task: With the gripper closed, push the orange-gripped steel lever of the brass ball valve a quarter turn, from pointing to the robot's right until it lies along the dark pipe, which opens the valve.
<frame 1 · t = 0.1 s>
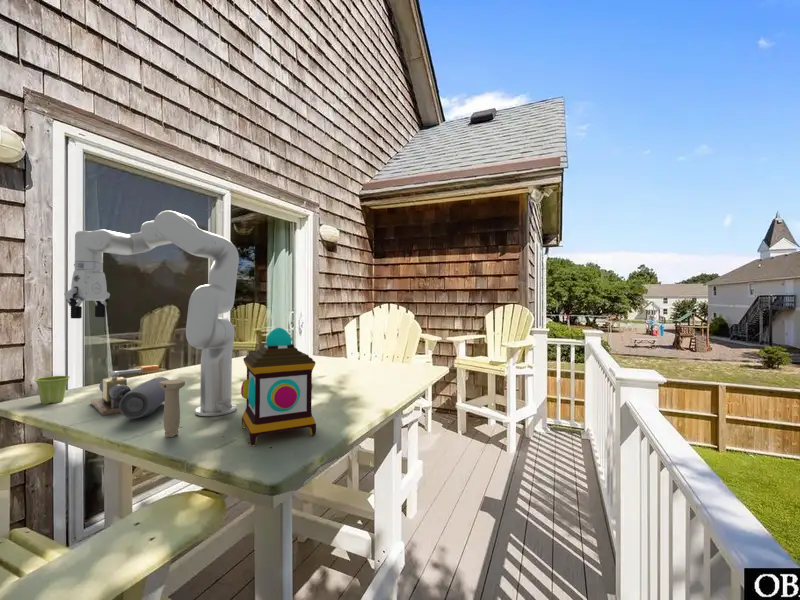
hand: (88, 317, 131), 31 cm above the table, tool pointing down, fingers open, 9 cm apart
decorative lantern: (277, 432, 110), on the table
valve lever: (134, 370, 139), point 12 cm above the table, hinge at -90.0°
plant pot: (52, 402, 139), on the table
handle: (171, 436, 106), on the table
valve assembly: (114, 406, 134), on the table
bluetooth speaker: (147, 412, 128), on the table, touching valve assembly
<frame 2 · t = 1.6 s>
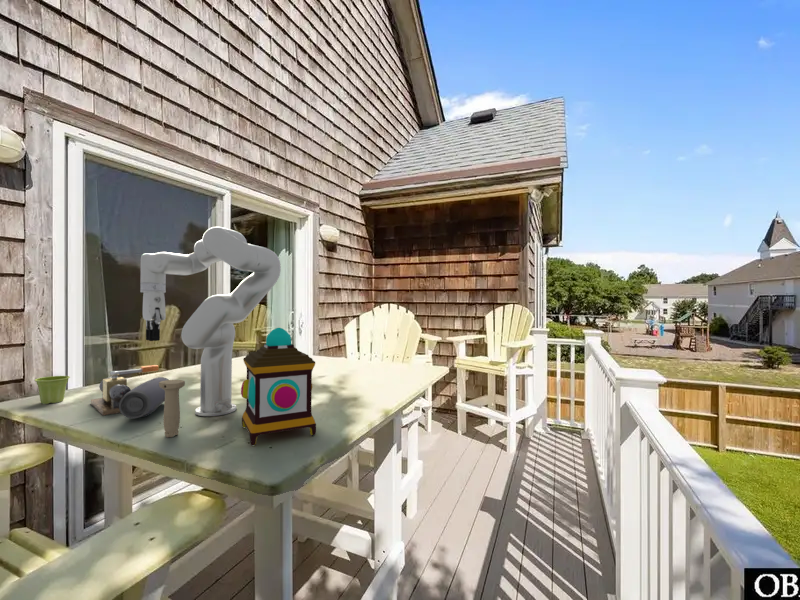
hand: (152, 339, 136), 23 cm above the table, tool pointing down, fingers closed
nothing on the table moved.
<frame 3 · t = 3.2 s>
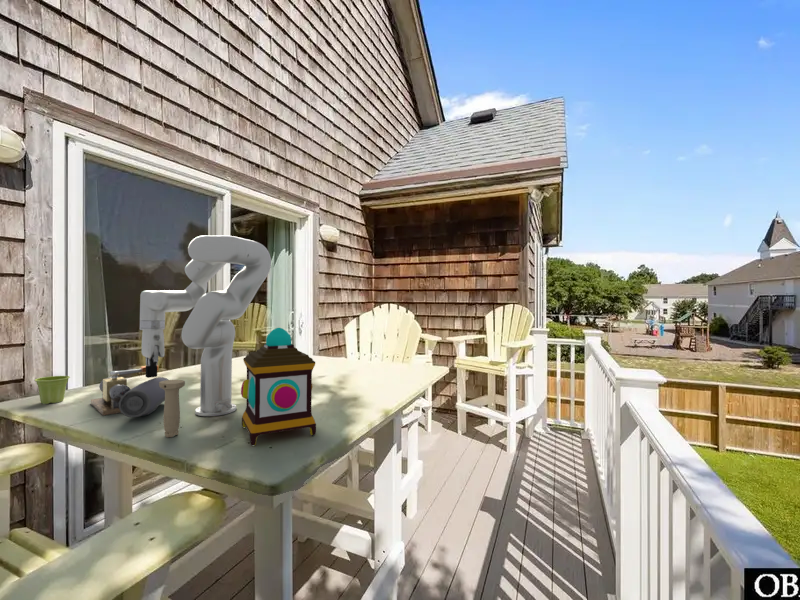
hand: (151, 376, 136), 10 cm above the table, tool pointing down, fingers closed
bluetooth speaker: (148, 412, 128), on the table, touching gripper, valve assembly
everything else where it was.
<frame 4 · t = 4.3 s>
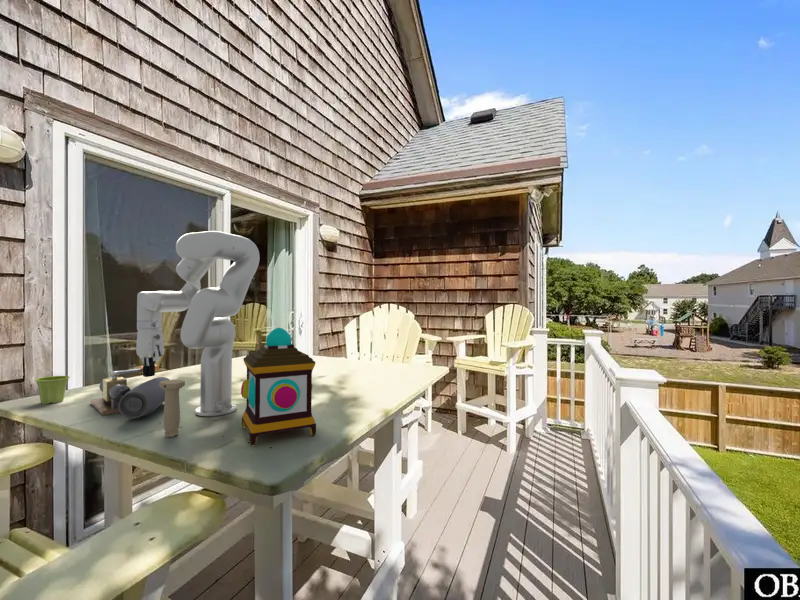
hand: (149, 376, 139), 10 cm above the table, tool pointing down, fingers closed
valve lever: (134, 370, 139), point 12 cm above the table, hinge at -87.1°, touching gripper
bluetooth speaker: (148, 412, 128), on the table, touching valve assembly
everything else where it was.
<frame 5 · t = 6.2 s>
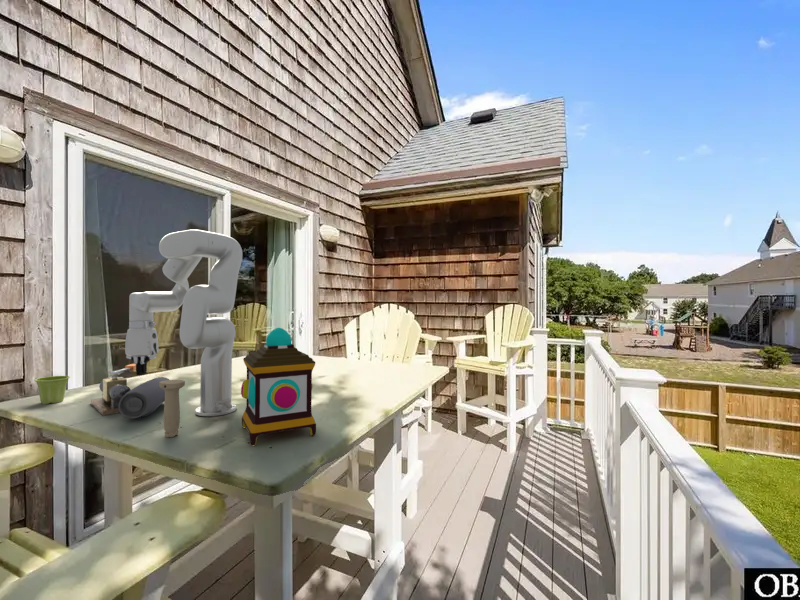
hand: (141, 374, 144), 9 cm above the table, tool pointing down, fingers closed
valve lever: (125, 369, 140), point 12 cm above the table, hinge at -42.8°, touching gripper
everything else where it was.
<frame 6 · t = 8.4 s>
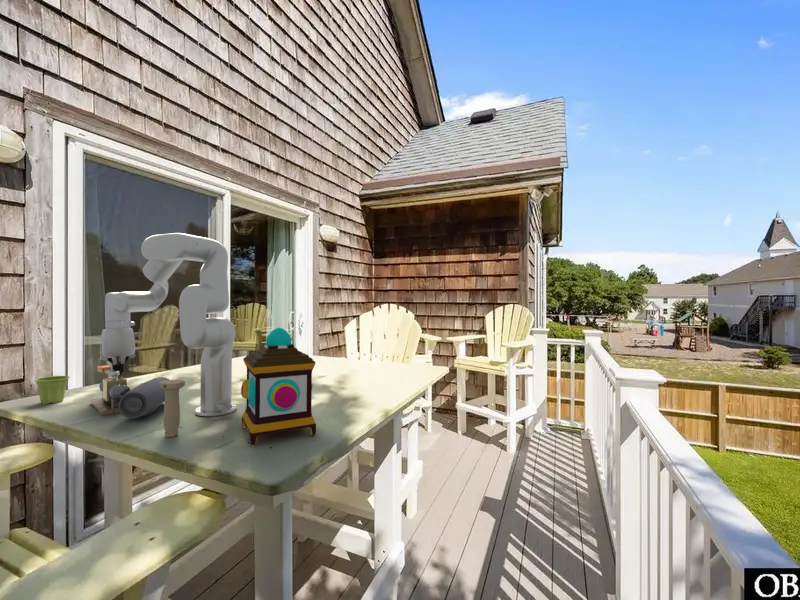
hand: (118, 374, 143), 9 cm above the table, tool pointing down, fingers closed
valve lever: (108, 370, 138), point 12 cm above the table, hinge at 6.3°, touching gripper
everything else where it was.
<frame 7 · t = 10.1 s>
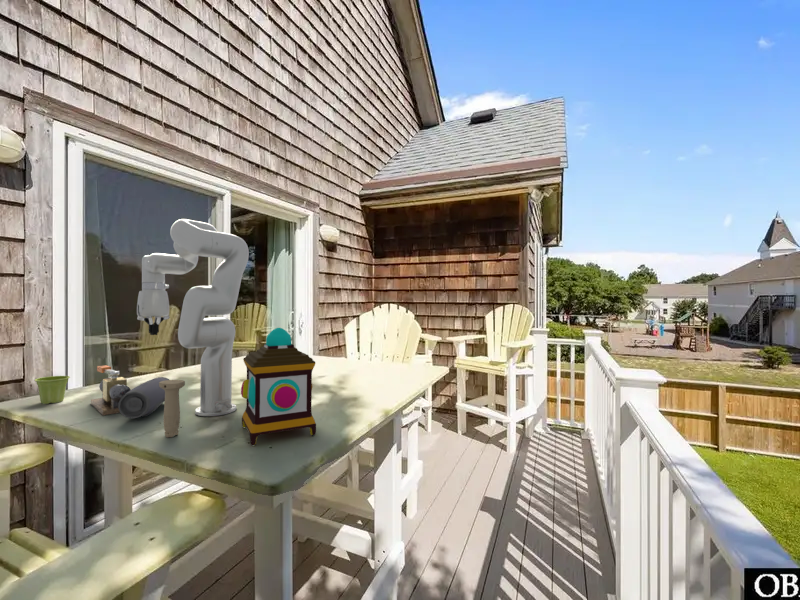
hand: (153, 334, 149), 24 cm above the table, tool pointing down, fingers closed
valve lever: (108, 370, 138), point 12 cm above the table, hinge at 6.4°
everything else where it was.
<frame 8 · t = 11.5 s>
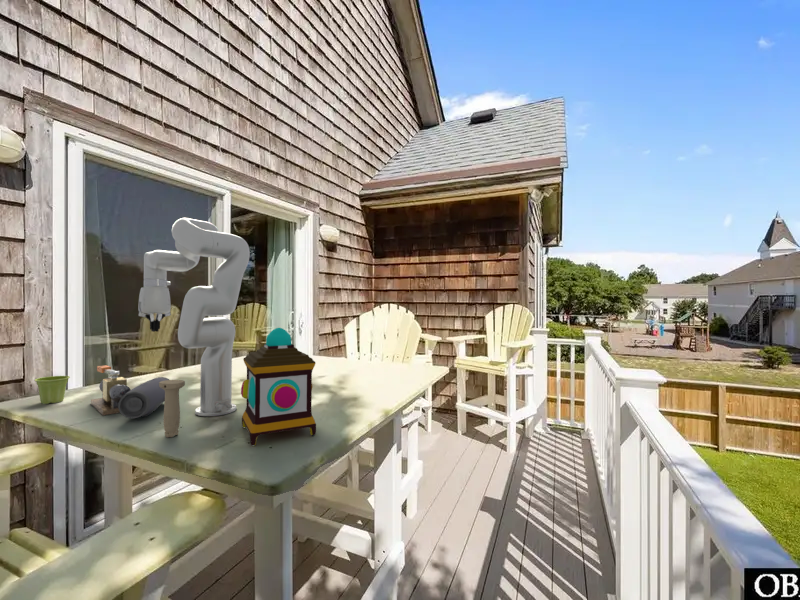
hand: (154, 331, 149), 25 cm above the table, tool pointing down, fingers closed
nothing on the table moved.
at the end: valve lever at +6° (first picture: -90°) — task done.
